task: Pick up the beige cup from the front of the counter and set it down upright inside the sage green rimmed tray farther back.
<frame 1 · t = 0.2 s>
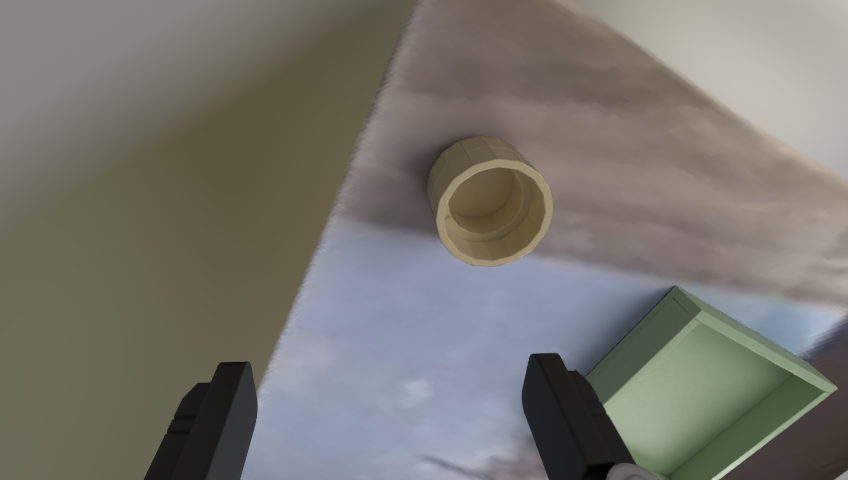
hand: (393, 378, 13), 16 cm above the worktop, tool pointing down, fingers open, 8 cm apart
beige cup: (475, 182, 28), on the worktop
tray: (669, 395, 40), on the worktop
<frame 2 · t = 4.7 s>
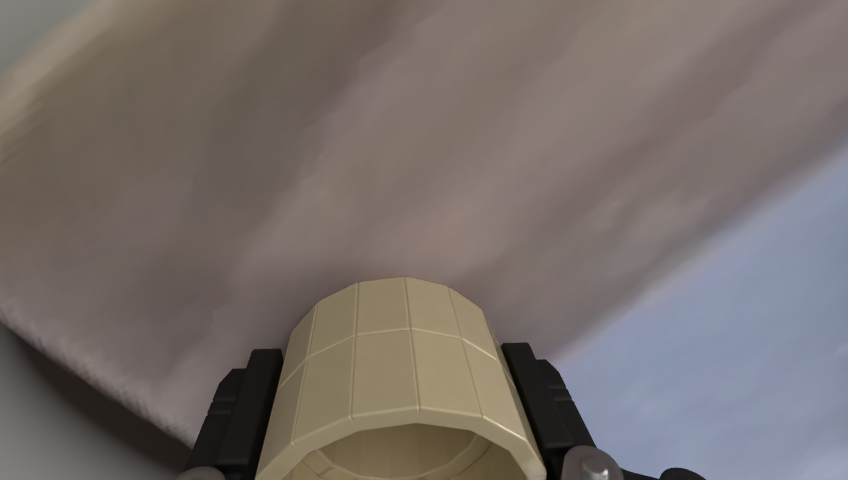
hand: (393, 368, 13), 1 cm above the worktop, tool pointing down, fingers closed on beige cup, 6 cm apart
beige cup: (393, 351, 14), on the worktop, touching gripper
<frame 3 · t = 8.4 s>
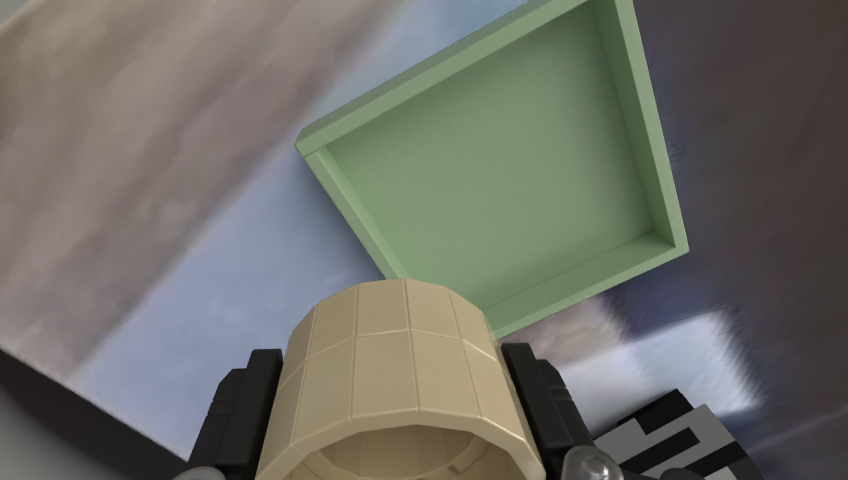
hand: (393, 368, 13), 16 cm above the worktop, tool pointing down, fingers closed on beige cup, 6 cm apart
beige cup: (392, 352, 14), point 15 cm above the worktop, touching gripper
tray: (500, 184, 28), on the worktop
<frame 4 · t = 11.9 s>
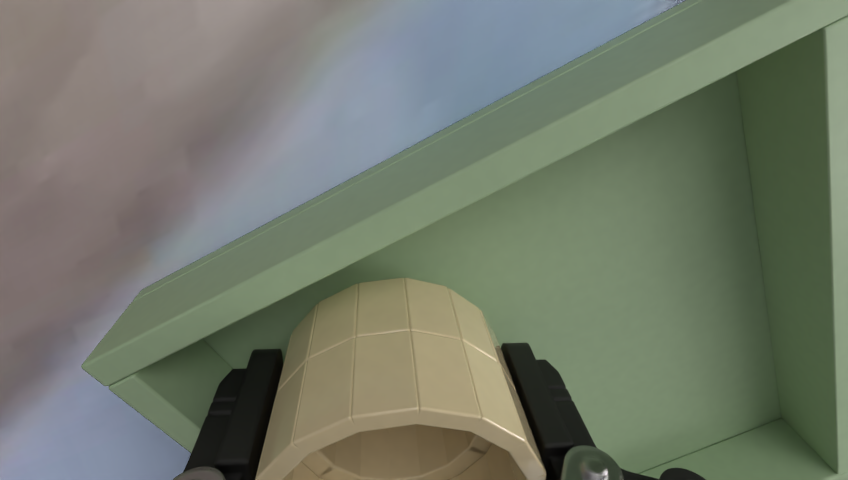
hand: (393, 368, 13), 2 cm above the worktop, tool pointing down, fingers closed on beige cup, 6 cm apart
beige cup: (393, 351, 14), point 1 cm above the worktop, touching gripper
tray: (525, 360, 16), on the worktop
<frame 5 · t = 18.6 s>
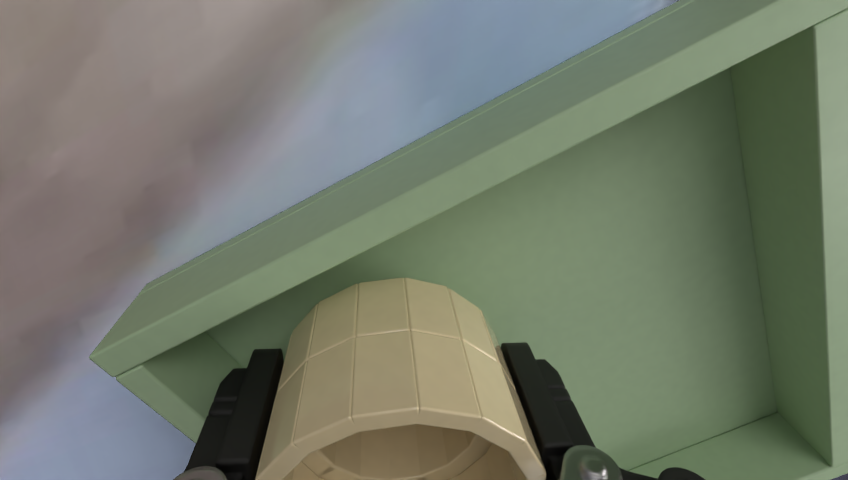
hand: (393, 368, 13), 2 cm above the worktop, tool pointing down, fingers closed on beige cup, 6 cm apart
beige cup: (393, 351, 14), point 1 cm above the worktop, touching gripper
tray: (523, 354, 16), on the worktop
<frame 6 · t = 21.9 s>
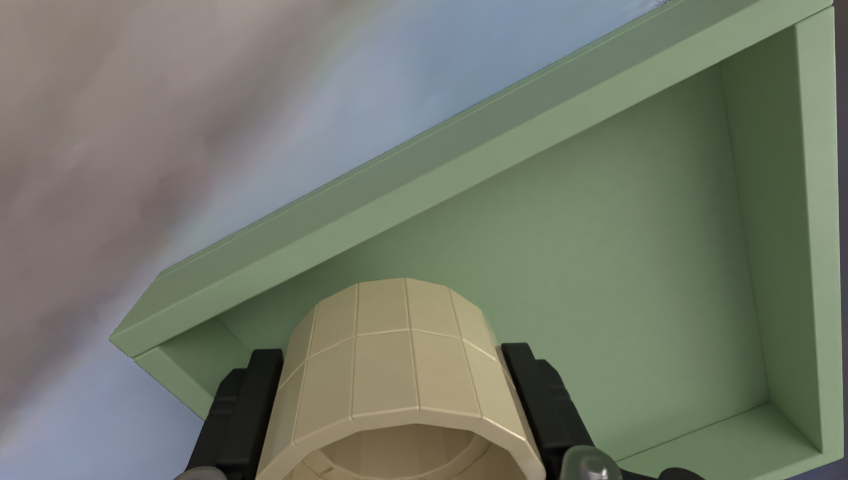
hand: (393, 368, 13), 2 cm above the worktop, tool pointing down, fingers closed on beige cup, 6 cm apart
beige cup: (393, 351, 14), point 2 cm above the worktop, touching gripper
tray: (522, 343, 16), on the worktop
when the fingers open (3 cm above the worktop, at t = 24.8 s): beige cup drops 2 cm, resting on tray.
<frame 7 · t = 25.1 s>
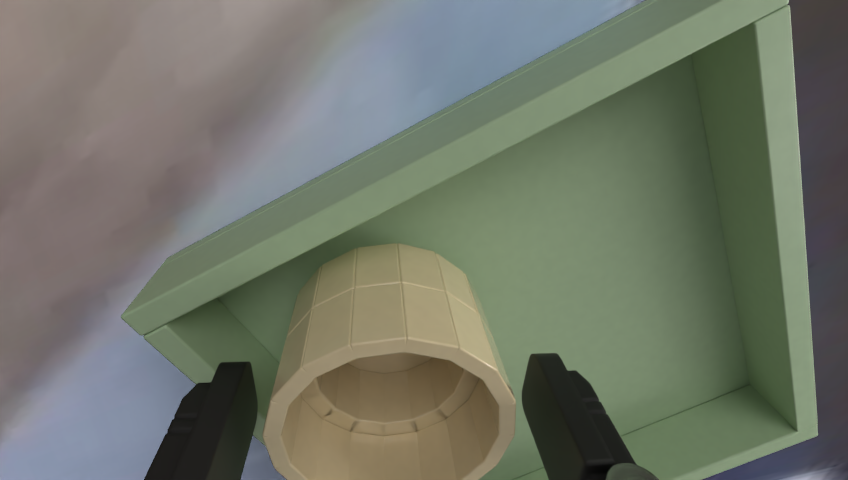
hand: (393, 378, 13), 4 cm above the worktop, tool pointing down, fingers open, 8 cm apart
beige cup: (387, 313, 16), point 1 cm above the worktop, touching tray
tray: (512, 327, 17), on the worktop
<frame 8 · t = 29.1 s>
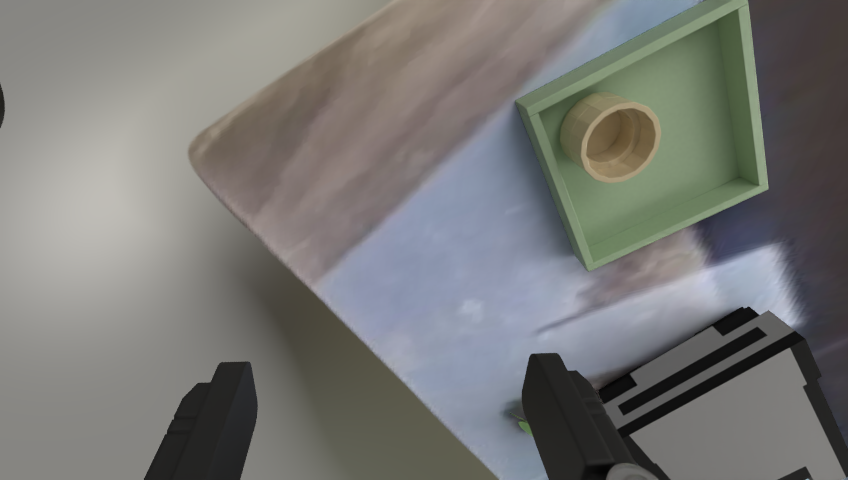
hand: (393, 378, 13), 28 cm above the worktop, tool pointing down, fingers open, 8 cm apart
beige cup: (592, 128, 39), point 1 cm above the worktop, touching tray
game console: (705, 405, 59), on the worktop
tray: (637, 141, 40), on the worktop
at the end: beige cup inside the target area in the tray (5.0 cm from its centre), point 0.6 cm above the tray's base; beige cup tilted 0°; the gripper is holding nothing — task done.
